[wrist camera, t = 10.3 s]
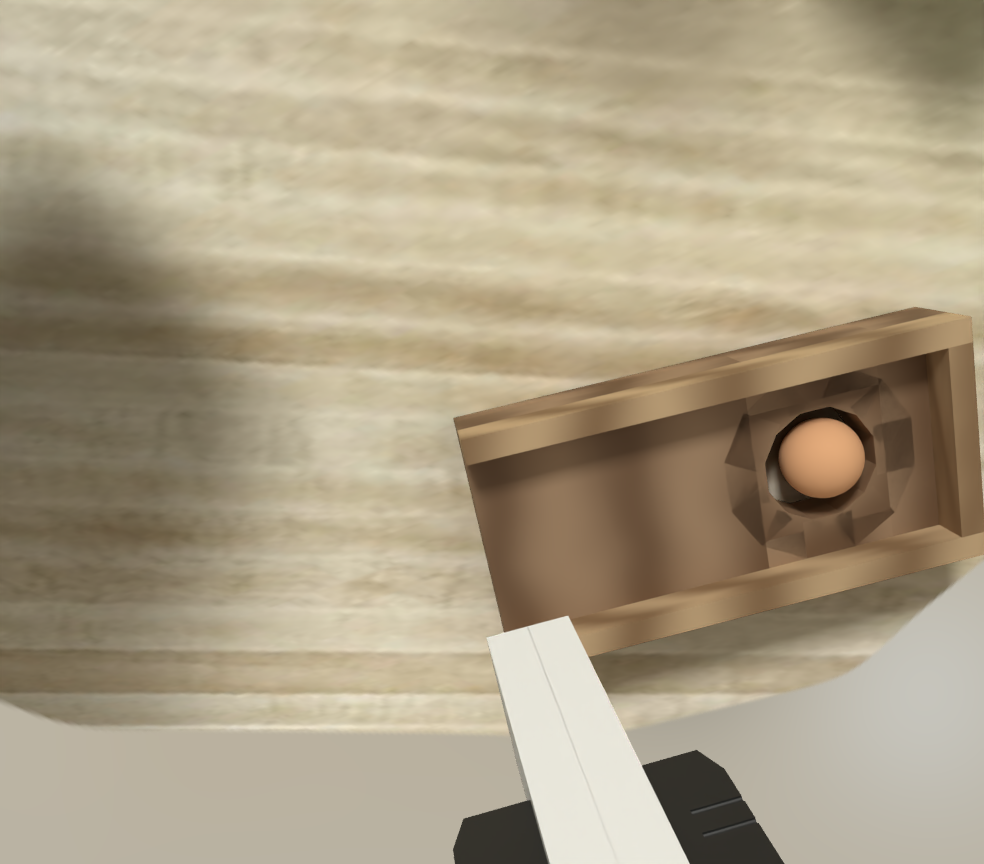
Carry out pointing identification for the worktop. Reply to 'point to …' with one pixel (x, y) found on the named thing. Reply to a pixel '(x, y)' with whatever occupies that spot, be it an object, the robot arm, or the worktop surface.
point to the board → (727, 482)
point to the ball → (821, 457)
